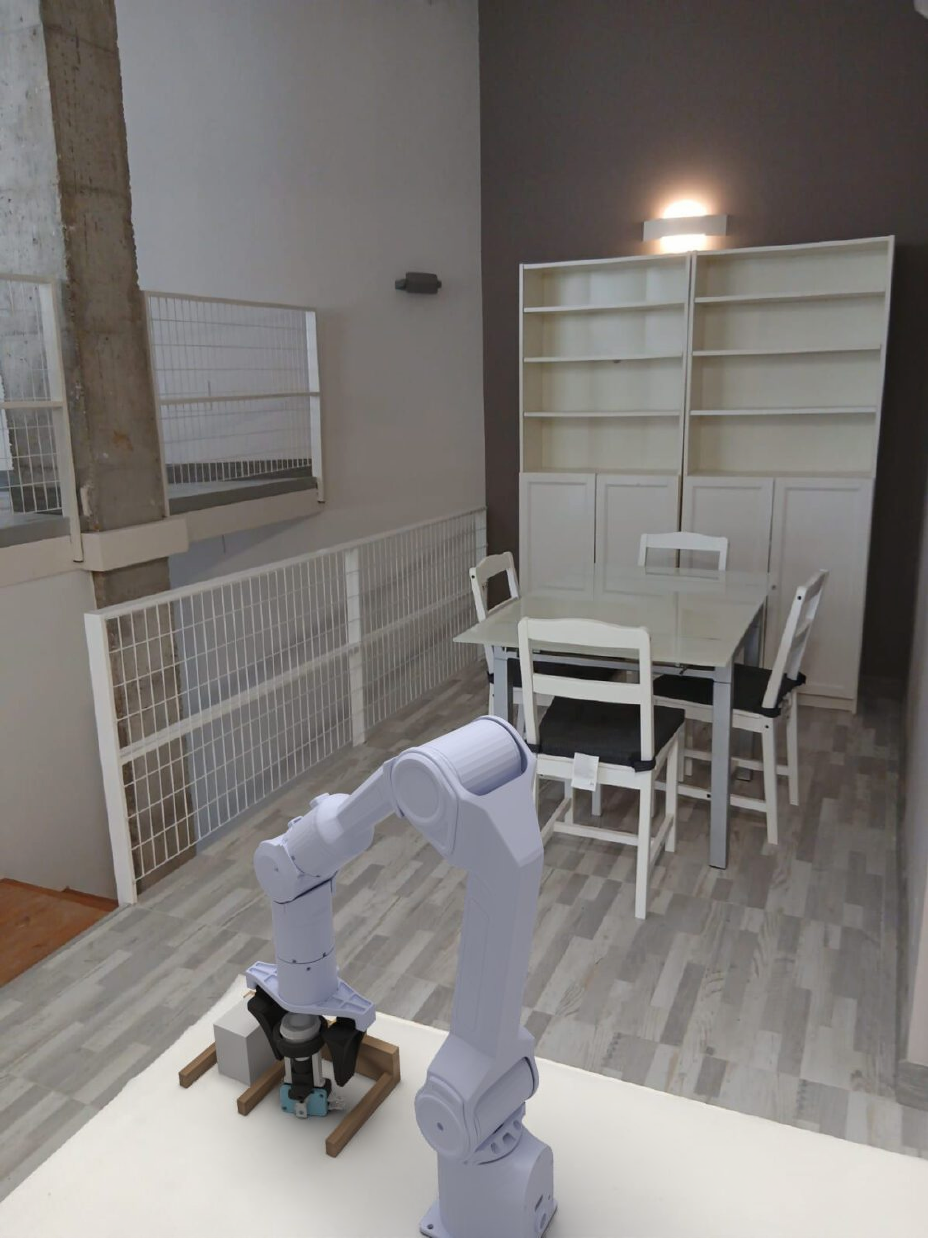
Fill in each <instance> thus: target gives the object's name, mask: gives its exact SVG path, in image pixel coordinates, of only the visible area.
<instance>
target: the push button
mask: <svg viewBox="0 0 928 1238" xmlns="http://www.w3.org/2000/svg"><path fill="white" fill-rule="evenodd" d="M326 1019H327V1018H326V1017H324V1015H314V1014H302V1013H294V1012H288V1013H287V1014H286V1015H285V1016H284V1017H283V1018H282V1019H281V1020H280V1021H279V1022H278V1023H277V1024H276V1025H275V1027H274V1029H273V1039H274V1042H275V1043H276V1048H277V1049H278V1050H279V1051H280V1053H281V1054H282V1055H283V1056H284V1058H285V1069H286V1075H285V1077H284V1078H283V1081H284V1082H283V1083H282V1085H281V1087H280V1089H279V1097H280V1107H281V1111H283V1112H285V1113H286V1112H287V1113H295V1114H296V1116H297V1117H298V1118H307V1117H308V1115H312V1116H318V1117H319V1116H320V1117H325V1116H327V1113H328V1111H329V1110H330V1111H331V1110H332V1111H333V1110H341V1111H342V1110H345V1108H346V1106H347V1103H345V1102H344V1101H345V1099H346V1095H345V1094H344V1095H343V1094H337V1093H335V1092H333V1084H332V1079H330V1078H328V1077H324V1075H323V1063H322V1058H321V1048H322V1047H323V1046H324V1044H325V1043H326V1042H325V1041H324V1039H323V1038H322V1033H323V1032H324V1031H326V1030H327V1029H328V1022H327V1020H328V1019H327V1020H326ZM319 1032H320V1033H319ZM339 1098H340V1099H339Z"/></svg>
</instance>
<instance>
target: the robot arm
mask: <svg viewBox="0 0 928 1238" xmlns="http://www.w3.org/2000/svg"><path fill="white" fill-rule="evenodd" d="M537 764H538V760H537V758H536V756H535V755H534V753H533V752H532V751H531V749H530V748H529V747H528V745H527V743H526V741H525V740H524V739H523V738H522V736H521V735H520V734H519V732H518V731H517V729H516V728H515V727H514V726H513V725H512V724H511V723H509V722H508V721H507V720H505V719H504V718H502V717H499V716H498V715H497V716H496V715H492V714H491V715H490V714H487V715H481V716H479V717H477V718H475V719H473V720H471V722H469V723H468V724H466V725H463V726H462V727H460V728H457V729H455V730H453V731H450V732H448V733H445V734H443V735H441V736H439V737H437V738H434V739H432V740H429V741H427V742H426V743H424V744H421V745H419V746H411V747H409V748H406V749H404V750H403V751H401V752H400V753H399V754H398V755H397V756H395V757H392V758H391V759H388V760H386V761H384V762H383V763H382V764H381V766H380V767H379V768H378V769H377V770H376V771H375V772H373V773H372V774H371V775H370V777H368V778H367V779H366V780H365V781H364V782H363V783H362V784H361V785H359V787H357V788H356V789H355V791H353V792H352V793H351V794H349V793H343V792H341V793H334V794H331V795H330V794H329V792H325V793H322V794H320V795H318V796H316V797H315V798H313V799H312V800H310V802H309V806H310V808H311V810H310V811H308V812H307V813H306V814H305V815H304V816H302V815H299V816H297V817H295V818H293V819H291V820H290V821H289V822H288V823H287V828H288V829H287V831H286V832H285V833H282V834H280V835H278V836H276V837H274V838H272V839H265V840H263V841H261V842H260V843H259V845H258V847H257V848H256V850H255V852H254V855H253V869H254V873H255V877H256V879H257V881H258V883H259V886H260V887H261V889H262V890H263V892H264V893H265V894H266V895H267V896H268V897H269V900H270V909H271V922H272V923H271V924H272V933H273V934H272V935H273V945H274V956H275V963H267V962H265V961H264V962H263V961H260V960H258V961H256V962H255V963H254V964H253V965H251V966H250V967H248V968H247V969H246V970H245V980H246V981H245V982H246V988H247V989H250V990H251V991H254V992H255V996H253V997H252V998H251V999H250V1000H249V1001H248V1002H247V1009H248V1011H249V1012H250V1013H251V1014H252V1015H253V1016H254V1017H255V1018H256V1020H257V1021H258V1023H259V1024H260V1026H261V1027H262V1029H263V1031H264V1032H265V1035H266V1037H267V1039H268V1041H269V1043H270V1046H271V1048H272V1051H273V1053H274V1056H275V1058H276V1060H279V1061H282V1060H283V1059H284V1056H283V1055H282V1054H281V1053H280V1051H279V1050H278V1049H277V1048H276V1043H275V1042H274V1039H273V1029H274V1027H275V1025H276V1024H277V1023H278V1022H279V1021H280V1020H281V1019H282V1018H283V1017H284V1016H285V1015H286V1014H287V1013H288V1012H294V1013H302V1014H314V1015H322V1016H327V1017H328V1016H329V1017H335V1018H336V1022H334V1023H333V1024H332V1025H331V1026H330V1027H329V1028H328V1029H327V1030H326V1031H324V1032H323V1033H322V1038H323V1039H324V1041H325V1042H326V1044H327V1046H328V1048H329V1051H330V1054H331V1058H332V1062H331V1063H332V1068H333V1069H332V1071H333V1078H334V1081H335V1084H336V1086H338V1087H341V1088H343V1087H344V1086H346V1084H347V1083H348V1082H349V1081H350V1080H351V1079H352V1078H353V1077H354V1075H355V1066H356V1061H357V1056H358V1052H359V1049H360V1046H361V1043H362V1040H363V1037H364V1035H365V1033H366V1031H367V1030H368V1029H369V1028H371V1026H372V1025H373V1024H374V1023H375V1022H376V1020H377V1014H376V1013H377V1012H376V1003H375V1002H374V1001H371V1000H369V999H368V998H366V997H364V996H363V995H362V994H360V993H359V992H358V991H356V990H355V989H354V988H353V987H351V986H350V985H349V984H348V983H346V981H344V979H342V978H341V977H339V976H340V975H341V970H340V969H341V968H340V966H338V965H337V957H336V942H335V927H334V925H335V924H334V913H333V900H332V899H333V898H332V897H333V896H334V894H335V892H337V878H338V877H339V875H340V873H341V872H342V869H343V867H344V866H346V865H347V864H348V863H350V862H352V861H353V860H354V859H356V858H357V857H358V856H360V855H361V854H362V853H364V852H365V851H366V850H367V849H368V848H369V847H370V846H371V844H372V842H373V839H374V835H375V826H376V825H377V824H380V823H381V822H383V820H386V818H388V817H390V816H391V815H393V814H394V813H395V815H396V817H397V818H399V819H404V818H406V819H407V820H408V821H409V822H410V823H411V825H413V827H415V829H416V830H417V831H418V832H419V833H420V834H421V835H422V836H423V837H424V838H425V839H426V840H427V841H428V842H429V843H430V844H431V846H433V848H434V849H435V850H436V851H437V852H438V853H439V854H440V855H441V857H443V858H444V860H446V862H447V863H448V864H449V865H450V866H451V867H452V868H453V867H454V868H457V869H464V870H467V878H466V879H467V880H466V887H465V897H464V905H463V914H462V922H461V931H460V939H459V948H458V956H457V963H456V964H457V966H456V974H455V984H454V991H453V1001H452V1008H451V1009H452V1010H451V1017H450V1019H451V1020H450V1025H449V1033H448V1035H447V1037H446V1038H445V1040H444V1041H443V1043H442V1044H441V1046H440V1047H439V1050H437V1053H436V1054H435V1055H434V1056H433V1057H434V1058H433V1059H432V1060H431V1062H430V1064H429V1065H428V1068H427V1069H426V1079H425V1082H424V1084H423V1085H422V1086H421V1087H420V1088H419V1089H418V1090H417V1092H416V1094H415V1096H414V1105H413V1106H414V1113H415V1119H416V1123H417V1127H418V1128H419V1131H420V1133H421V1135H422V1136H423V1138H424V1140H425V1141H426V1143H427V1144H428V1145H429V1146H430V1147H431V1149H433V1151H435V1152H436V1159H437V1163H436V1164H437V1184H438V1188H437V1189H438V1195H437V1198H436V1199H435V1200H434V1202H433V1203H432V1204H431V1206H430V1207H429V1209H428V1211H427V1212H425V1213H426V1214H425V1215H424V1216H423V1218H422V1219H421V1221H420V1223H419V1230H420V1232H421V1233H423V1234H425V1235H426V1236H427V1235H428V1236H429V1237H431V1238H541V1237H542V1236H543V1233H544V1232H545V1230H546V1228H547V1227H548V1224H549V1223H550V1220H551V1219H552V1217H553V1215H554V1213H555V1211H556V1209H557V1208H558V1200H557V1199H555V1197H554V1195H555V1193H554V1188H555V1187H554V1185H555V1183H554V1151H553V1149H552V1147H551V1146H550V1145H548V1144H547V1143H546V1142H544V1141H543V1140H540V1139H539V1138H538V1137H536V1136H535V1135H534V1134H533V1133H532V1132H530V1131H529V1129H528V1128H527V1127H526V1126H525V1125H524V1124H523V1119H524V1117H525V1116H526V1114H527V1113H526V1112H527V1110H526V1109H527V1108H526V1107H527V1106H526V1103H527V1102H526V1101H528V1100H529V1099H531V1098H533V1096H534V1095H535V1094H536V1093H537V1092H538V1091H537V1090H538V1088H539V1084H540V1076H539V1069H538V1067H537V1062H536V1058H535V1046H536V1045H535V1044H536V1038H535V1037H534V1036H533V1035H532V1034H531V1032H530V1031H529V1030H528V1029H527V1028H526V1027H525V1026H524V1025H523V1024H522V1023H521V1018H522V1017H521V1016H522V1010H523V1004H524V996H525V990H526V985H527V977H528V976H527V975H528V972H529V971H528V970H529V963H530V957H531V956H530V955H531V950H532V943H533V936H534V928H535V923H536V915H537V909H538V902H539V895H540V889H541V882H542V877H543V876H542V874H543V868H544V862H545V859H544V858H545V849H544V844H543V838H542V834H541V830H540V829H541V828H540V825H539V819H538V814H537V809H536V804H535V800H534V796H533V794H534V793H533V792H534V783H535V780H536V779H535V777H536V770H537ZM367 1032H368V1031H367Z"/></svg>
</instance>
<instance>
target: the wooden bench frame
mask: <svg viewBox="0 0 928 1238" xmlns="http://www.w3.org/2000/svg"><path fill="white" fill-rule="evenodd" d="M255 992H256V991H255V990H252V989H250V990H249V991H248V992H247V993H246V994H244V995H243V999H244V998H245V997H246V996H247V995H249V994H252V995H254V996H255ZM325 1019H326V1020H327V1022H328V1028H329V1027H330V1026H331V1025H332V1024H333V1023H334V1022H336V1017H335V1018H334V1019H333V1020H330V1019H327V1018H325ZM319 1033H320V1032H319ZM321 1059H323V1060H326V1061H328V1062H331V1063H333V1062H332V1058H331V1054H330V1051H329V1048H328V1046H327V1044H326V1043H325V1044H324V1046H323V1047H322V1048H321ZM216 1063H217V1055H216V1046H215V1041H214V1042H213V1043H212V1044H210V1045H209V1046H207V1048H205V1049H204V1050H203V1051H202V1052H201V1053H200V1054H198V1055H197V1056H196V1057H195V1058H194V1059H193V1060H192V1061H190V1062H189V1063H188V1064H187V1065H186V1066H184V1067H183V1068H182V1069H181V1070H180V1071H178V1080H179V1081H178V1082H179V1086H182V1087H184V1088H185V1089H188V1088H189V1087H190V1086H191V1085H192V1084H193V1083H195V1081H197V1080H198V1079H199V1078H200V1077H201V1076H202V1075H204V1074H205V1073H206V1072H207V1071H208V1070H210V1069H211V1068H212V1067H213V1066H214V1065H215V1064H216ZM355 1072H356V1073H357V1074H360V1075H363V1076H365V1077H367V1078H369V1079H373V1080H375V1081H376V1082H375V1083H374V1084H373V1085H372V1086H371V1088H370V1089H369V1090H368V1091H367V1092H366V1093H365V1094H364V1096H363V1097H362V1098H361V1099H360V1100H359V1101H358V1102H357V1104H355V1106H354V1107H353V1108H352V1109H351V1110H350V1112H349V1113H348V1114H347V1115H346V1116H345V1117H344V1118H343V1120H342V1121H340V1123H339V1124H338V1125H337V1126H336V1127H335V1128H334V1130H333V1131H332V1132H331V1133H330V1134H329V1135H328V1136H327V1137H326V1138H325V1140H324V1142H325V1154H326V1155H328V1156H330V1157H333V1158H336V1157H337V1156H338V1155H339V1153H340V1152H341V1151H342V1150H343V1149H344V1148H345V1147H346V1145H347V1144H348V1143H349V1142H350V1141H351V1140H352V1138H353V1137H354V1136H355V1134H356V1133H357V1132H359V1130H360V1129H361V1128H362V1127H363V1125H364V1124H365V1123H366V1122H367V1120H369V1118H370V1117H371V1115H373V1113H374V1112H375V1111H376V1110H377V1109H378V1108H379V1106H380V1105H381V1104H382V1103H383V1102H384V1100H385V1099H386V1098H387V1097H388V1096H389V1094H391V1092H392V1091H393V1090H394V1088H396V1086H398V1084H399V1083H400V1082H401V1079H402V1078H401V1059H400V1046H399V1045H395V1044H392V1043H390V1042H387V1041H385V1040H382V1039H381V1038H376V1037H374V1036H372V1035H369V1034H368V1031H366V1033H365V1035H364V1037H363V1040H362V1043H361V1046H360V1049H359V1052H358V1056H357V1061H356V1066H355ZM355 1072H354V1073H355ZM285 1075H286V1069H285V1058H284V1059H283V1060H282V1061H279V1060H278V1061H277V1062H276V1063H274V1064H273V1065H272V1066H271V1067H270V1068H269V1069H268V1070H267V1071H266V1072H265V1073H264V1074H263V1075H262V1076H261V1077H260V1078H259V1079H258V1080H257V1081H256V1082H254V1083H253V1084H252V1085H251V1086H250V1087H249V1086H248V1088H247V1089H246V1090H245V1091H244V1092H242V1094H241V1095H240V1096H239V1097H238V1098H237V1099H236V1106H237V1107H236V1109H237V1113H239V1114H241V1115H243V1116H247V1115H248V1114H249V1113H250V1112H251V1111H252V1110H253V1109H254V1108H255V1107H257V1105H258V1104H259V1103H260V1102H261V1101H263V1099H264V1098H265V1097H266V1096H267V1095H269V1093H270V1092H271V1091H272V1090H273V1089H274V1088H275V1087H277V1086H278V1084H279V1083H280V1082H282V1081H283V1080H284V1077H285Z"/></svg>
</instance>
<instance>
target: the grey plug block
mask: <svg viewBox="0 0 928 1238" xmlns="http://www.w3.org/2000/svg"><path fill="white" fill-rule="evenodd" d="M253 996H254V995H252V994H249V995H247V996H246V997H245V998H243V999H241V1000H240V1001H239V1002H238V1003H237V1004H235V1005H234V1006H233V1007H231V1008H230V1009H229V1010H228V1011H227V1012H226V1013H224V1014H223V1015H222V1016H221V1017H219V1018H218V1019H216V1021H215V1022H213V1023H212V1026H213V1035H214V1042H215V1046H216V1055H217V1062H216V1063H217V1071H218V1073H219V1074H221V1075H223V1076H226V1077H228V1078H230V1079H232V1080H235V1081H237V1082H238V1083H241V1084H243V1085H245V1086H247V1087H248V1088H249V1087H250V1086H251V1085H252V1084H253V1083H254V1082H256V1081H257V1080H258V1079H259V1078H260V1077H261V1076H262V1075H263V1074H264V1073H265V1072H266V1071H267V1070H268V1069H269V1068H270V1067H271V1066H272V1065H273V1064H274V1063H276V1062H277V1061H278V1060H276V1058H275V1056H274V1053H273V1051H272V1048H271V1046H270V1043H269V1041H268V1039H267V1037H266V1035H265V1032H264V1031H263V1029H262V1027H261V1026H260V1024H259V1023H258V1021H257V1020H256V1018H255V1017H254V1016H253V1015H252V1014H251V1013H250V1012H249V1011H248V1009H247V1002H248V1001H249V1000H250V999H251V998H252V997H253Z"/></svg>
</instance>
